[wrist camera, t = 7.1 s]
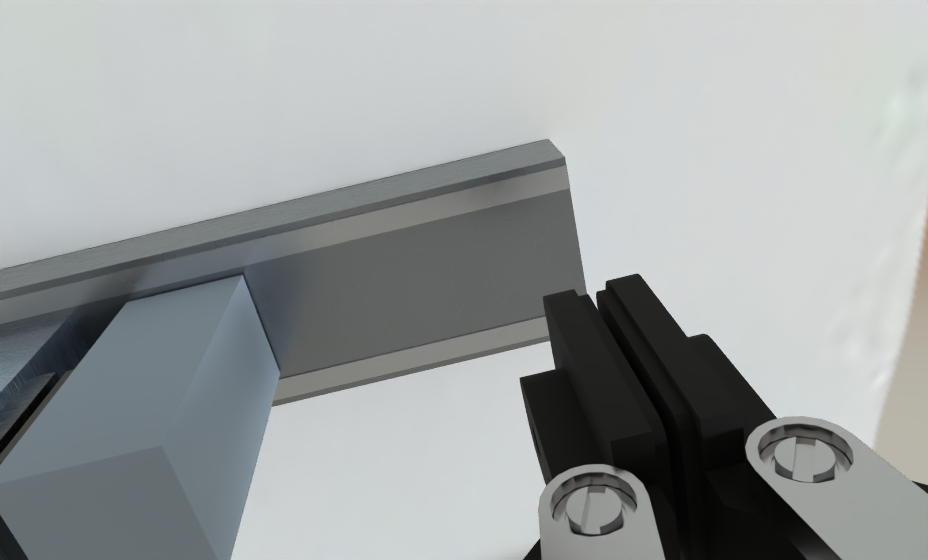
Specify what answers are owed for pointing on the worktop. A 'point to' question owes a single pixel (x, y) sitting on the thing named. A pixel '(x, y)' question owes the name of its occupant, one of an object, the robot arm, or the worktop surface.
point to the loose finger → (147, 435)
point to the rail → (324, 280)
